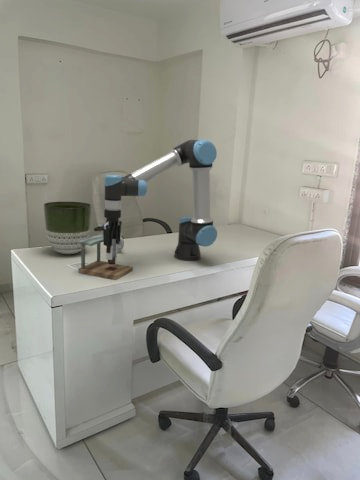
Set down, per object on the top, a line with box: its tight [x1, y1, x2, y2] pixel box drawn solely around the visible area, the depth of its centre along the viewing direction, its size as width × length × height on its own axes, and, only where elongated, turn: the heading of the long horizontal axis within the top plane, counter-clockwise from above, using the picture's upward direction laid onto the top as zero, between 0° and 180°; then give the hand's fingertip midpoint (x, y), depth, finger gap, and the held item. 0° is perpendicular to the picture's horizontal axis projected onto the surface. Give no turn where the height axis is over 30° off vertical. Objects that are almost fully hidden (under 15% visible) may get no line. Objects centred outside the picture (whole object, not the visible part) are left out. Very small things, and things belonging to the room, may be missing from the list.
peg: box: [107, 238, 117, 265], centre depth 173 cm, size 4×4×12 cm
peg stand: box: [78, 234, 134, 281], centre depth 175 cm, size 20×16×15 cm
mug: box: [117, 232, 125, 254], centre depth 210 cm, size 12×8×11 cm
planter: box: [43, 201, 92, 255], centre depth 201 cm, size 24×24×27 cm
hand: (111, 258), depth 174 cm, fingers closed on peg, 3 cm apart
